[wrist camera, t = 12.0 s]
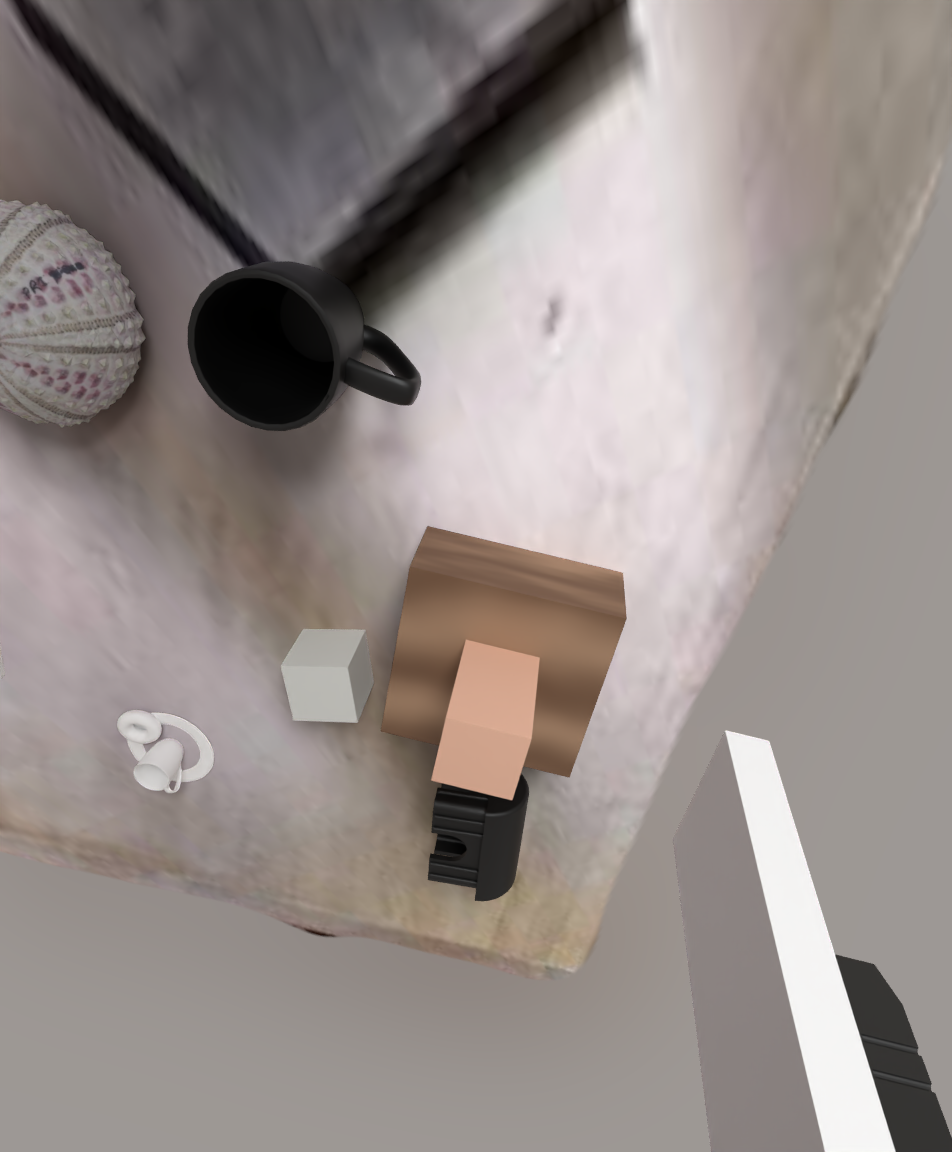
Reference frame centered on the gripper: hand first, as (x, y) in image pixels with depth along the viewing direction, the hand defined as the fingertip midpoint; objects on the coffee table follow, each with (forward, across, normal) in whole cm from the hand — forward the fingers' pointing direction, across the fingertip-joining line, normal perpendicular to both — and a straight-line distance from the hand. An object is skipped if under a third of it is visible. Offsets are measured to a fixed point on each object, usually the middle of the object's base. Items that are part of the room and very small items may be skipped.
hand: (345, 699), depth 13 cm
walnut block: (+37, +4, -22) cm, 43 cm away
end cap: (+37, +6, -39) cm, 54 cm away
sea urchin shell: (+37, -29, -6) cm, 47 cm away
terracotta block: (+31, +4, -22) cm, 38 cm away
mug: (+37, -10, -3) cm, 38 cm away
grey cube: (+37, -8, -28) cm, 47 cm away
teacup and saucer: (+37, -21, -39) cm, 58 cm away
